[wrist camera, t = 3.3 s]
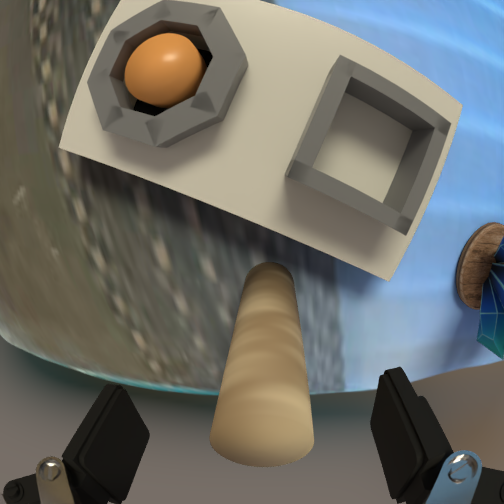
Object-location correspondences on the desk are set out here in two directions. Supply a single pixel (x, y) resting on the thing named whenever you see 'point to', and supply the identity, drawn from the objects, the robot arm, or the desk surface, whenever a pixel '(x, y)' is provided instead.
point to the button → (165, 70)
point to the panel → (275, 125)
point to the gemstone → (485, 283)
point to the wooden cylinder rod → (265, 377)
